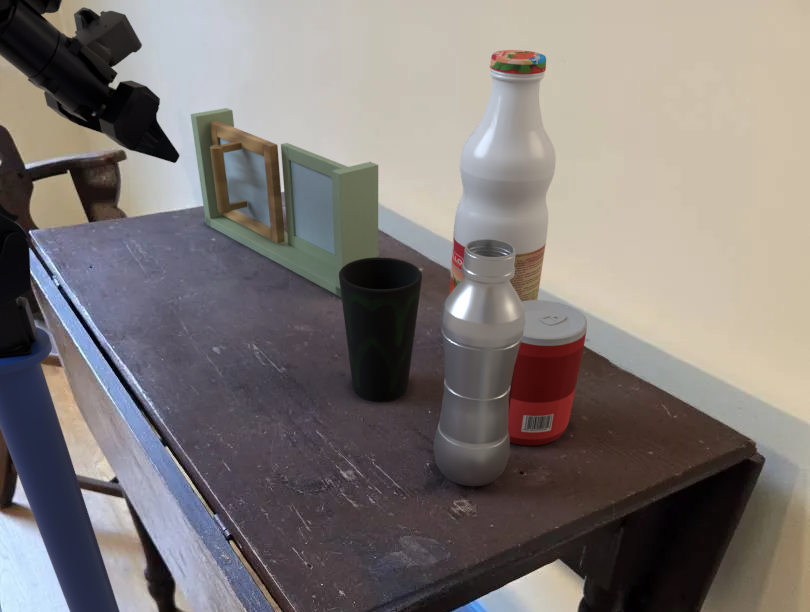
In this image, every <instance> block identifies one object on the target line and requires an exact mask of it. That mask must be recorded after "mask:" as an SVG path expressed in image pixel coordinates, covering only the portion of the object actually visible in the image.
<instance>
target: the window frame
mask: <svg viewBox="0 0 810 612" xmlns="http://www.w3.org/2000/svg"><path fill="white" fill-rule="evenodd" d="M190 120H191V127H192V128H191V129H192V134H193V142H194V148H195V149H194V150H195V156H196V163H197V170H198V177H199V184H200V191H201V198H202V205H203V206H202V207H203V214H204V220H205V225H207V226H208V227H210V228H211V229H214V230H216V231H217V232H219V233H221V234H224V235H225V236H227V237H228V238H230V239H233V240H234V241H236V242H237V243H240V244H242V245H243V246H245V247H247V248H249V249H251V250H253V251H255V252H257V253H258V254H260V255H261V256H263V257H266V258H267V259H269V260H271V261H272V262H273V261H274V262H275V263H277V264H278V265H280V266H282V267H284V268H286V269H288V270H290V271H292V272H294V273H295V274H297V275H299V276H301V277H303V278H304V279H306V280H308V281H310V282H312V283H314V284H315V285H318V286H319V287H321V288H323V289H325V290H326V291H329V292H331V293H332V294H334V295H336V296H338V297H339V298H341V299H342V297H341V289H340V281H339V272H340V270H341V269H342V267H344V266H345V265H346V264H348V263H350V262H353V261H356V260H360V259H365V258H376V257H379V164H378V163H375V162H372V161H367V162H363V163H359V164H355V165H351V166H349V165H348V166H347V165H345V164H342V163H340V162H337V161H335V160H332V159H330V158H327V157H324V156H322V155H319V154H316V153H314V152H311V151H309V150H306V149H304V148H301V147H299V146H296V145H293V144H291V143H288V142H284V143H281V144H280V153H281V167H282V179H283V181H282V182H283V193H284V194H283V195H284V207H285V220H286V230H284V236H285V242H281V243H276V242H274V241H272V240H270V239H268V238H266V237H264V236H262V235H260V234H259V233H257V232H255V231H253V230H251V229H249V228H247V227H245V226H243V225H241V224H239V223H237V222H235V221H233V220H231V219H229V218H228V217H225V216H223V215H222V214H221V213H219V212H218V205H217V198H216V190H215V182H214V175H213V167H212V159H211V152H210V146H212V137H211V129H210V122H212V121H219V122H222V123H224V124H227V125H229V126H232V127H234V128H235V120H234V112H233V110H232V109H230V108H227V107H224V108H218V109H213V110H207V111H201V112H193V113H190Z"/></svg>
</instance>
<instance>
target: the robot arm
mask: <svg viewBox="0 0 810 612" xmlns="http://www.w3.org/2000/svg"><path fill="white" fill-rule="evenodd" d="M62 2H63V0H0V56H1V57H2V58H3V59H4V60H6V61H7V62H8V63H9V64H10V65H12V66H13V67H14V68H16V69H17V70H18V71H19V72H21V73H22V74H23V75H24V76H26V77H27V81H28V82H29V83H31V84H32V85H33V86H34V87H36V88H38V89H40V90H42V91H44V93H43V94H44V98H45V102H46V106H47V107H48V108H50V109H51V110H53V112H55V113H56V114H57V115H58V116H60V117H62V118H64V119H66V120H68V121H69V122H71V123H74V124H75V125H78V126H80V127H83V128H86V129H89V130H91V131H94V132H98V133H101V134H103V135H105V136H107V138H109V139H110V140H112V141H113V142H115V143H116V144H117V145H119V146H120V147H122V148H124V149H126V150H129V151H132V152H136V153H139V154H143V155H147V156H150V157H153V158H157V159H160V160H164V161H166V162H168V163H169V162H170V163H173V164H176V163H177V162H178V160H179V159H180V157H181V156H180V155H181V154H180V153H179V151H178V150H177V149H176V147H175V146H174V144H173V143H172V141H171V140H170V139H169V137H168V135H167V134H166V132H165V131H164V130H163V128H162V126H161V125H160V123H159V121H158V119H157V115H158V113H159V109H160V105H161V98H160V97H159V96H157V94H156V93H155V92H153V91H152V90H151V89H150V88H149V87H148V86H147V85H144V84H142V83H139V82H136V81H135V80H123V81H119V82H118V85H117V86H116V88H114V87H112V86H109V85H110V84H112V83H114V81H115V79H116V77H117V76H118V74H119V73H118V71H116V69H114V68H113V67H116V66H117V65H118V64H119V63H121V62H123V61H124V59H126V58H127V57H129V56H130V55H131V54H132V53H137V52H138V51H140V50H141V48H142V47H143V44H142V42H141V40H140V38H139V37H138V35H137V33H136V31H135V29H134V28H133V26H132V24H131V22H130V21H129V19H128V17H127V15H126V14H125V13H121V12H118V11H114V10H106V11H104V10H102V11H100V12H99V14H100V15H99V14H97V12H95V11H94V10H92V9H91V8H87V7H85V6H84V7H81V8H80V9H78V10H77V11H75V12H74V13H73V18H74V24H75V28H76V29H75V31H74V33H75V36H71V37H70V36H67V35H66V34H65V33H63V32H61V30H59V29H58V28H57V27H55V25H53V24H52V23H51V22H50V21H49V20H48V19H46V18H45V16H44V14H54V13H57V12H59V10H60V8H61V5H62ZM18 220H19V215H17V214H14V213H12V212H9V210H7V209H6V208H5V207H4V206H3V205H2V204H1V203H0V358H9V357H18V356H27V355H30V354H32V349H33V343H34V342H35V341H36V336H37V329H36V327H37V325H36V323H35V319H34V316H33V312H32V310H31V307H30V306H31V305H30V304H29V300H28V298H26V297H25V296H24V295H26V294H27V293H29V292H31V290H32V278H31V255H30V254H31V253H30V251H31V250H30V245H29V242H28V240H27V239H28V235H27V233H26V231H25V229H24V228H23V227H22V226H21V225H20V224H19V223H18V222H17V221H18ZM23 296H24V297H23Z"/></svg>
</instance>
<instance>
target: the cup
mask: <svg viewBox="0 0 810 612" xmlns="http://www.w3.org/2000/svg"><path fill="white" fill-rule="evenodd" d="M422 279H423V273H422V271H421V270H420V269H419V267H417V266H416V265H414V264H413V263H411V262H408V261H406V260H402V259H399V258H393V257H383V256H382V257H381V256H380V257H379V256H378V257H376V258H365V259H360V260H356V261H353V262H350V263H348V264H346V265H345V266H344V267H342V269H341V270H340V272H339V281H340V289H341V297H342V298H341V297H340V298H341V304H342V311H343V320H344V327H345V328H344V329H345V335H346V344H347V352H348V361H349V366H350V368H349V369H350V377H351V383H352V390H353V392H354V394H355V395H356V396H357V397H358V398H360V399H363V400H365V401H369V402H373V403H388V402H392V401H396V400H399V399H400V398H402V397H404V395H406V393H407V392H408V386H409V379H410V372H411V364H412V357H413V356H412V355H413V349H414V342H415V334H416V326H417V319H418V310H419V304H420V298H421V297H420V296H421V288H422Z"/></svg>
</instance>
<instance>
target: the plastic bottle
mask: <svg viewBox="0 0 810 612" xmlns="http://www.w3.org/2000/svg"><path fill="white" fill-rule="evenodd" d="M515 251H516V249H515V247H514V246H513V245H511V244H509V243H507V242H504V241H501V240H495V239H477V240H473V241H470V242H468V243H467V244H466V246H465V251H464V262H463V263H462V269H461V271H462V273H463V275H464V276H465V277H464V279H463V280H462V281H461V282H460V283H459V284H458V285H457V286H456V287H455V288H454V289H453V291H452V292H451V293H450V292H449V294H450V295H449V294H448V296H447V297H446V299H445V301H444V302H443V306H442V309H441V312H440V329H441V339H442V349H443V376H444V377H443V378H444V379H443V396H442V404H441V409H440V415H439V421H438V424H437V427H436V431H435V434H434V440H433V444H432V445H433V446H432V447H433V454H434V461H435V465H436V466H437V468H438V469H439V471H440V472H441V474H443V476H444V477H445V478H446V479H448V480H449V481H451V482H453V483H456V484H458V485H460V486H461V485H462V486H468V487H481V486H487V485H489V484H492V483H493V482H494V481H495V482H496V480H497V479H499V478H500V477H501V475H502V474H504V472H505V470H506V468H507V464H508V461H509V460H510V456H511V442H510V438H509V431H508V409H509V393H510V387H511V385H510V384H511V381H512V376H513V370H514V365H515V361H516V358H517V354H518V351H519V347H520V344H521V340H522V336H523V333H524V327H525V323H526V319H525V313H524V308H523V305H522V303H521V301H520V298H519V296H518V294H517V293H516V291H515V289H514V288H513V286H512V285H511V283H510V279H512V278H513V277H514V273H515V267H514V263H515V255H516V252H515Z"/></svg>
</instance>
